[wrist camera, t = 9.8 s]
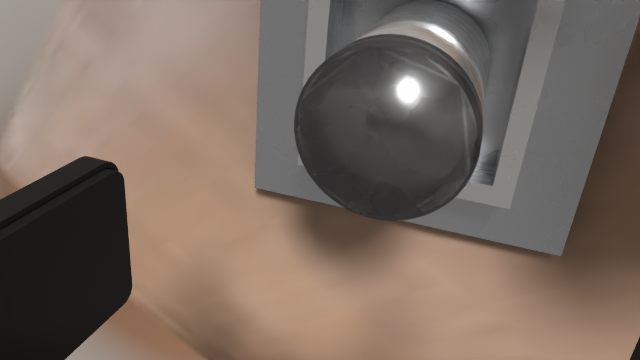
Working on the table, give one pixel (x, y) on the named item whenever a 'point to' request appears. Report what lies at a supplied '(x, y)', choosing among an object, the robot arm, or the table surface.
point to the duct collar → (498, 113)
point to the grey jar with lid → (397, 113)
